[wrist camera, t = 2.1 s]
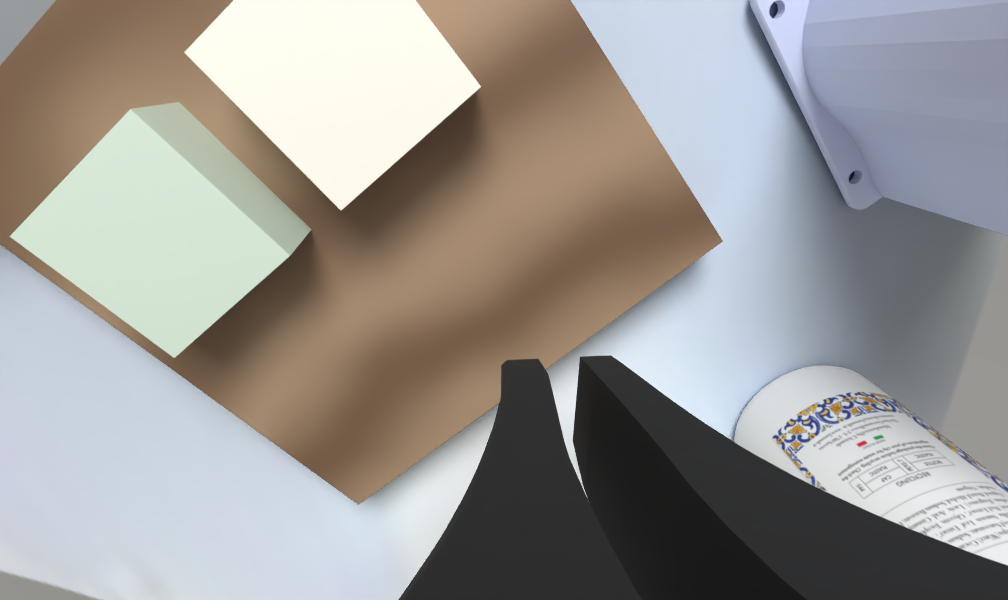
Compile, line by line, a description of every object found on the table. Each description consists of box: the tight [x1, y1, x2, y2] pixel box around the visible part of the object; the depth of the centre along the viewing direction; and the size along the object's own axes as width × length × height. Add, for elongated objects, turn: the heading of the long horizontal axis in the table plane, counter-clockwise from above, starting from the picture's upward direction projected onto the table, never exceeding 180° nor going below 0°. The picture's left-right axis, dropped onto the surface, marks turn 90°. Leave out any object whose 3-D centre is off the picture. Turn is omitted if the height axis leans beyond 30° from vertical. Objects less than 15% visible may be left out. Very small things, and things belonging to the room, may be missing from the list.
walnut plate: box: [0, 0, 723, 505], centre depth 18 cm, size 18×18×2 cm
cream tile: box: [184, 0, 481, 210], centre depth 14 cm, size 5×5×2 cm
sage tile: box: [10, 102, 312, 358], centre depth 15 cm, size 5×5×2 cm
